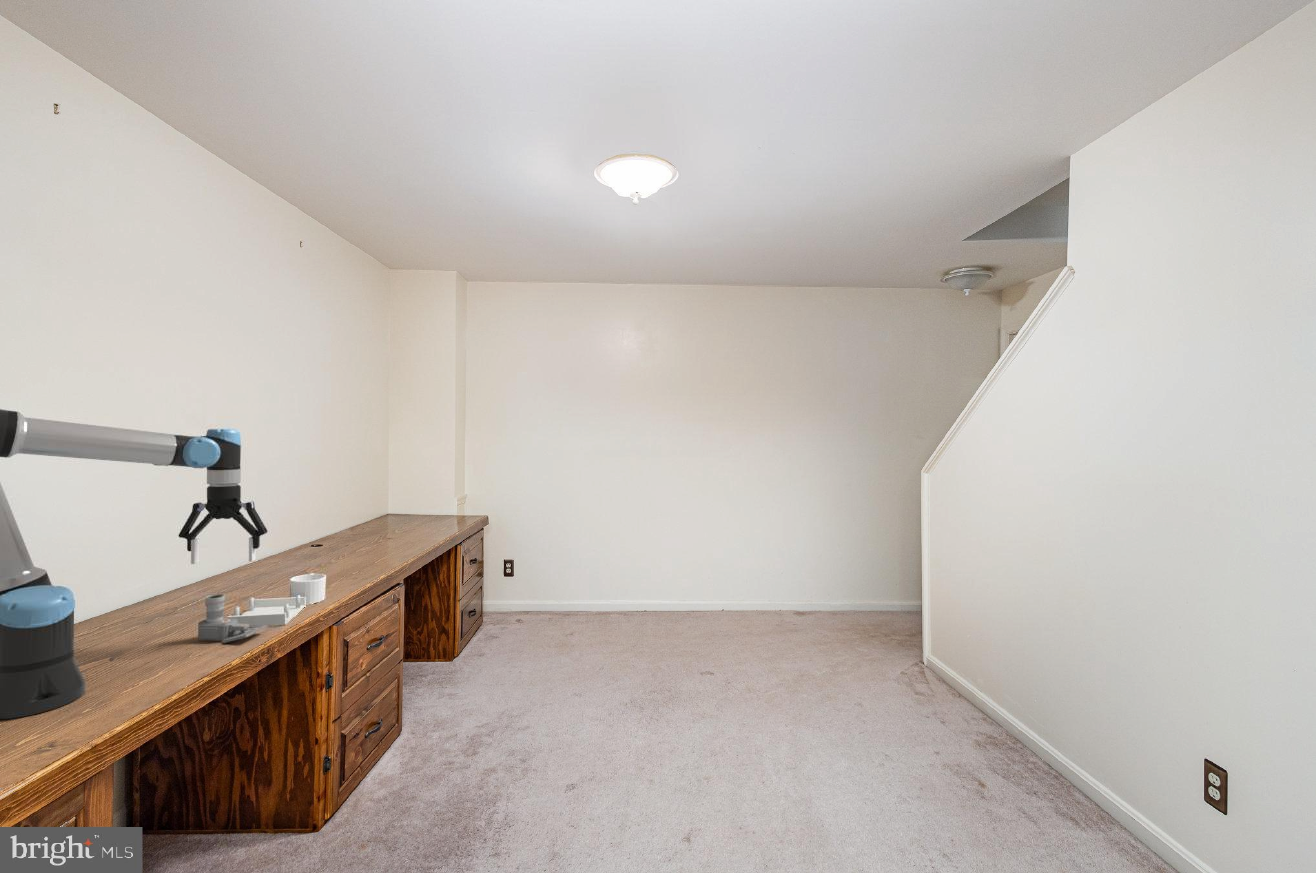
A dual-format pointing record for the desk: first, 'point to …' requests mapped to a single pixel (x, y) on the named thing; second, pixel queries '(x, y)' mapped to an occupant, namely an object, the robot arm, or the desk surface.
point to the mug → (309, 587)
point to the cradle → (270, 611)
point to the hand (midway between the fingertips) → (224, 561)
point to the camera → (221, 623)
